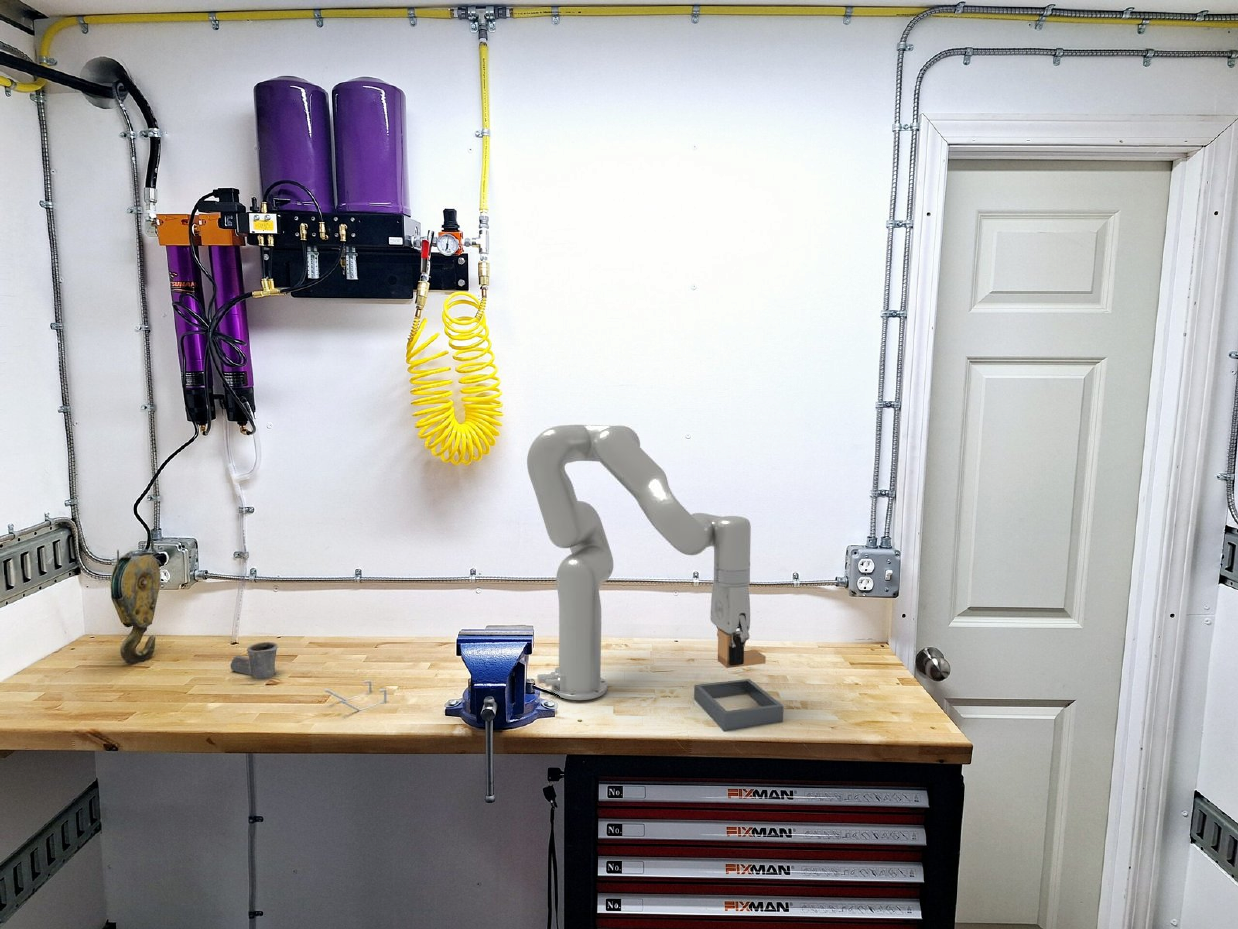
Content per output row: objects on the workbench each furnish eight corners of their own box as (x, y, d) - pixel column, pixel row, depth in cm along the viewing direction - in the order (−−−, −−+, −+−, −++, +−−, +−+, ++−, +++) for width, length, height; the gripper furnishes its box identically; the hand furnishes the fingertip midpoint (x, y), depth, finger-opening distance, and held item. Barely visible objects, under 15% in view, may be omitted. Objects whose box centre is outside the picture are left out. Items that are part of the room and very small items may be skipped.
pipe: (244, 669, 178) (243, 637, 177) (286, 676, 173) (285, 644, 173) (223, 678, 172) (222, 645, 171) (266, 686, 168) (265, 652, 167)
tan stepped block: (726, 668, 151) (727, 635, 150) (717, 660, 155) (718, 628, 155) (765, 663, 154) (766, 631, 153) (755, 656, 158) (755, 624, 157)
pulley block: (147, 652, 187) (142, 538, 184) (169, 653, 187) (165, 538, 184) (107, 673, 173) (101, 549, 170) (131, 674, 173) (126, 550, 170)
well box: (723, 737, 147) (724, 713, 146) (693, 706, 161) (694, 685, 160) (782, 729, 151) (783, 706, 150) (748, 700, 165) (749, 678, 165)
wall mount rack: (392, 709, 158) (392, 689, 157) (345, 724, 150) (345, 703, 150) (365, 692, 166) (365, 673, 165) (319, 706, 158) (319, 686, 158)
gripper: (698, 568, 159) (698, 649, 161) (733, 587, 143) (732, 676, 145) (729, 565, 161) (728, 645, 163) (767, 584, 145) (766, 672, 147)
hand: (730, 659), depth 154 cm, fingers closed on tan stepped block, 4 cm apart
